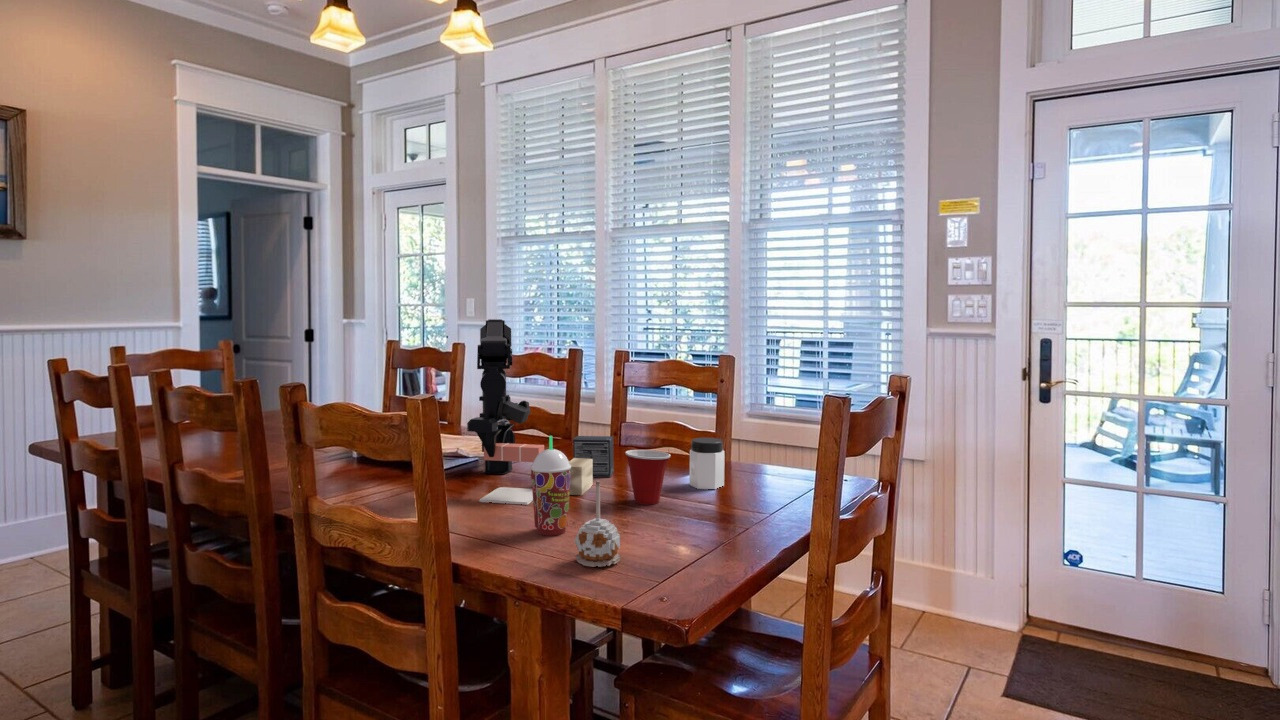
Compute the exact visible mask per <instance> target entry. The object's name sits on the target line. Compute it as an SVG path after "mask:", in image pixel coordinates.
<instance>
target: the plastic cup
mask: <svg viewBox="0 0 1280 720" xmlns="http://www.w3.org/2000/svg"><path fill="white" fill-rule="evenodd" d="M625 456H626V457H627V463H628V466H629V467H628V468H629V473H630V474H629V475H630V482H631V487H632V493H633V498H634V501H635V503H636V504H639V505H645V506H647V505H655V504H658V503H659V501H660V500H661V493H662V489H663V483H664V479H665V472H666V467H667V464H668V461H669V459H670V458H671V454H670V453H668V452H664V451H659V450H651V449H630V450H629V449H628V450H626V451H625Z"/></svg>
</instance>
